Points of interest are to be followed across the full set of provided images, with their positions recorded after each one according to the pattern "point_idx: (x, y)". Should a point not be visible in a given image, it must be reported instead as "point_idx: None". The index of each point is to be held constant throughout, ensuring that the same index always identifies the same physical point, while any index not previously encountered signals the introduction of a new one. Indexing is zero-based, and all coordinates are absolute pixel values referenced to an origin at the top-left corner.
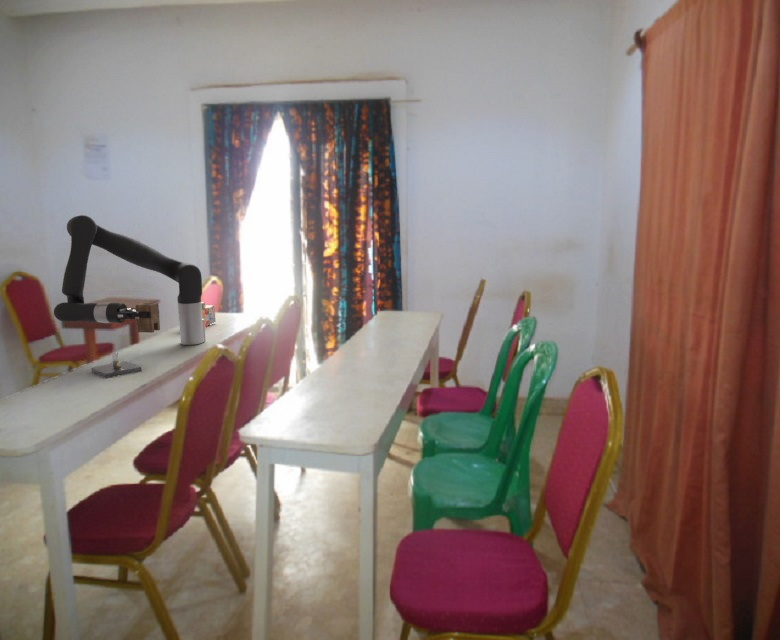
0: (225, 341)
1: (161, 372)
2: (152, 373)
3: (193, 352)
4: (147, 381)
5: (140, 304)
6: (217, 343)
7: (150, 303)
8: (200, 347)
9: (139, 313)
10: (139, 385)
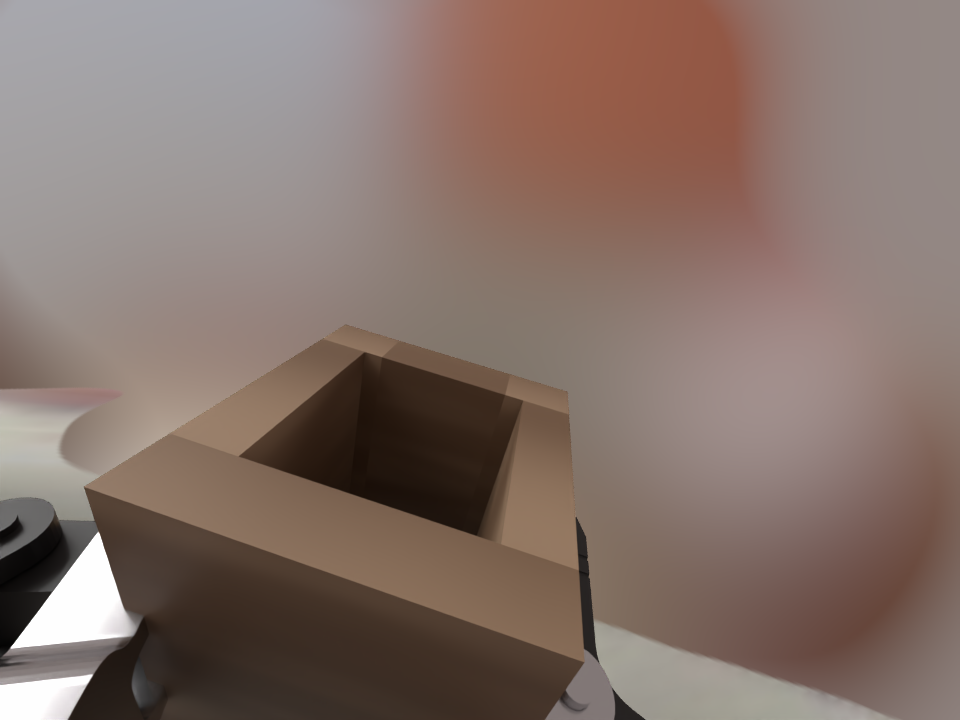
0: (22, 398)
1: (616, 644)
2: (645, 696)
3: None
4: (767, 684)
5: (510, 526)
6: (38, 427)
7: (327, 388)
8: (68, 497)
9: (590, 645)
10: (835, 711)
